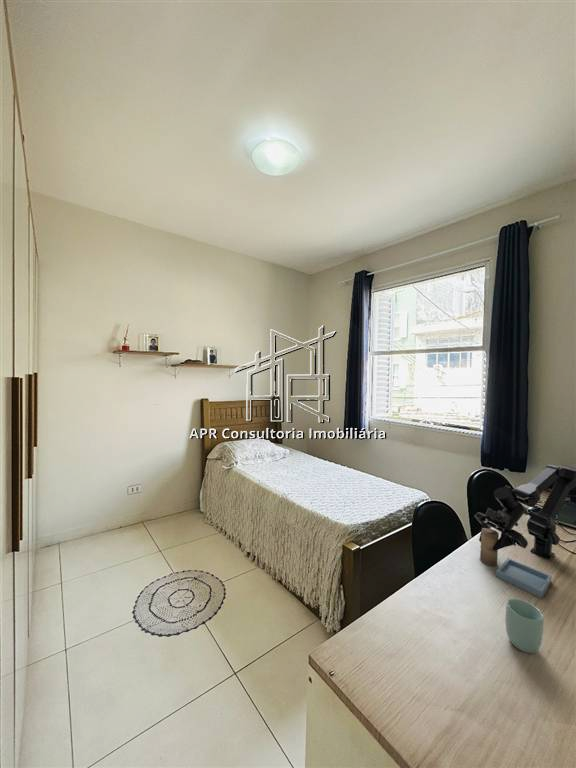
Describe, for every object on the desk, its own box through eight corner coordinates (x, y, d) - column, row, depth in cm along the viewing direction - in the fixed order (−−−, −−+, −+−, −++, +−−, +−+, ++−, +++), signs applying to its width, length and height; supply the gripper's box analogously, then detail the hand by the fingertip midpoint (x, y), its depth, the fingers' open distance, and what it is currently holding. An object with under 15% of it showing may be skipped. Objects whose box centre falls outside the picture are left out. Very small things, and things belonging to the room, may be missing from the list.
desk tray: (507, 563, 118) (508, 557, 118) (551, 582, 108) (551, 576, 108) (496, 576, 110) (496, 570, 110) (541, 598, 100) (542, 591, 100)
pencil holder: (483, 556, 122) (485, 526, 122) (499, 563, 118) (501, 532, 117) (477, 560, 119) (479, 530, 119) (493, 568, 115) (495, 536, 114)
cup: (527, 634, 85) (530, 599, 85) (548, 660, 77) (551, 622, 77) (498, 631, 86) (500, 596, 85) (516, 656, 78) (518, 619, 78)
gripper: (479, 492, 128) (456, 520, 125) (523, 512, 110) (497, 546, 107) (493, 509, 130) (470, 537, 128) (538, 532, 112) (513, 565, 110)
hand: (486, 545), depth 118 cm, fingers closed on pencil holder, 5 cm apart
